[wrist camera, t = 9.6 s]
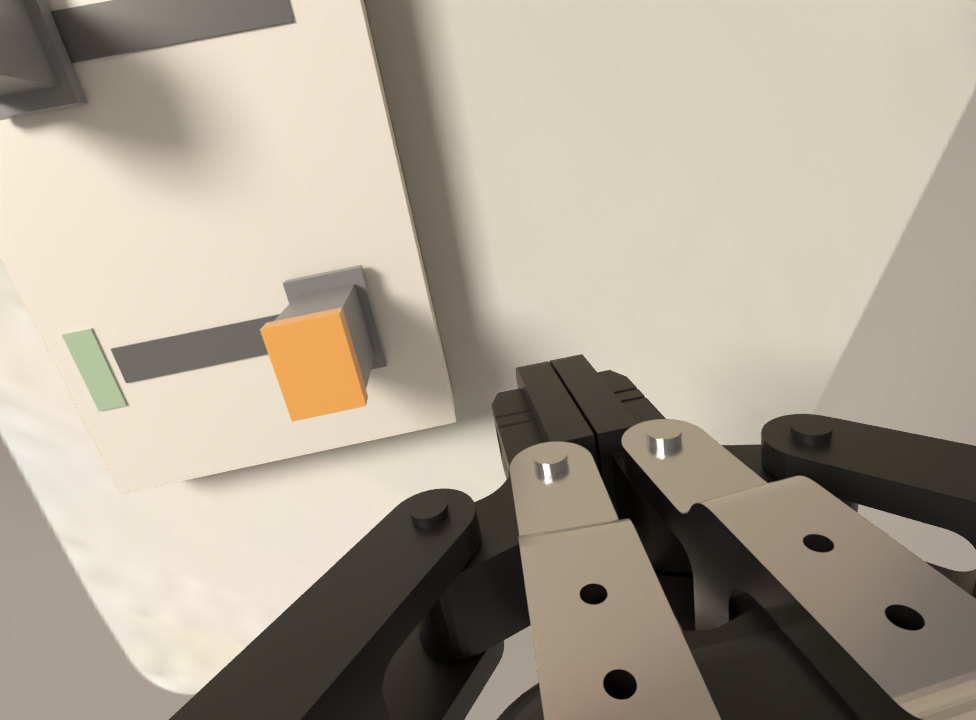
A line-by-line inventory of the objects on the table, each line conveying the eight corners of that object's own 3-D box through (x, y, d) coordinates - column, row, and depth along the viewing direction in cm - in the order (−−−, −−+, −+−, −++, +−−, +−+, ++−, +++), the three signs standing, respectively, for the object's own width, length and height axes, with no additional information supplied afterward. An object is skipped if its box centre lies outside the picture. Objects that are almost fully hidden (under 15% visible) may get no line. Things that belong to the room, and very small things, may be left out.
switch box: (453, 396, 29) (456, 423, 26) (149, 461, 29) (118, 495, 26) (322, -181, 21) (306, -235, 18) (-116, -105, 20) (-206, -148, 17)
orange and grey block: (387, 361, 25) (378, 416, 20) (316, 376, 25) (287, 435, 19) (362, 264, 23) (344, 297, 18) (286, 280, 23) (245, 316, 18)
